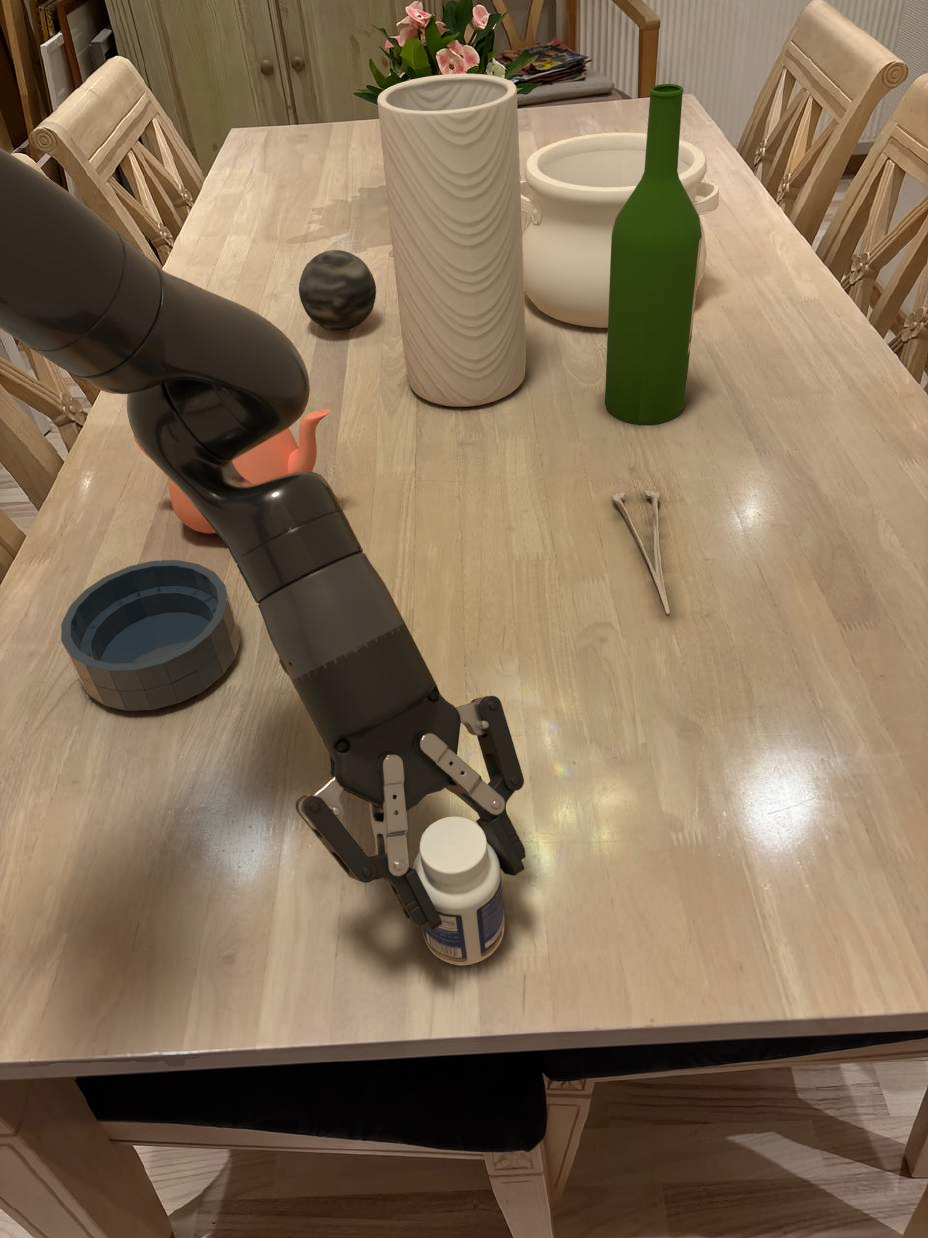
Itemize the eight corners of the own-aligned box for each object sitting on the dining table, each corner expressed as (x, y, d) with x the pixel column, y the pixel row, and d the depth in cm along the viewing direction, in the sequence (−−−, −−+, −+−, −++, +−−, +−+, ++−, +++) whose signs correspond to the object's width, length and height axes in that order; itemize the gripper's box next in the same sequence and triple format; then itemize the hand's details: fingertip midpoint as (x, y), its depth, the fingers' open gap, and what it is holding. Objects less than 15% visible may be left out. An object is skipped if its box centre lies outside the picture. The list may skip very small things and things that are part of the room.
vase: (521, 412, 111) (513, 110, 89) (398, 411, 112) (361, 115, 91) (530, 352, 121) (524, 69, 100) (417, 352, 123) (388, 74, 102)
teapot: (335, 550, 94) (314, 443, 86) (138, 548, 96) (99, 443, 88) (359, 472, 104) (342, 369, 95) (179, 472, 106) (148, 371, 98)
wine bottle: (697, 416, 107) (734, 93, 86) (621, 431, 106) (638, 107, 84) (665, 379, 114) (692, 69, 92) (593, 392, 113) (602, 82, 91)
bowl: (115, 743, 77) (93, 696, 74) (62, 650, 86) (39, 604, 82) (268, 667, 83) (254, 619, 79) (203, 586, 91) (188, 540, 87)
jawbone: (610, 500, 97) (611, 484, 96) (657, 497, 97) (659, 481, 96) (639, 627, 85) (641, 611, 83) (693, 623, 85) (696, 607, 83)
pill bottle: (488, 883, 66) (481, 795, 59) (516, 952, 62) (512, 866, 55) (412, 908, 65) (396, 821, 58) (436, 979, 61) (421, 895, 54)
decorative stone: (383, 339, 126) (373, 263, 119) (306, 348, 126) (292, 273, 119) (377, 306, 134) (368, 233, 127) (305, 315, 133) (291, 242, 126)
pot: (497, 332, 125) (491, 193, 114) (530, 256, 143) (528, 128, 131) (703, 342, 120) (719, 196, 108) (712, 261, 137) (727, 128, 125)
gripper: (246, 697, 51) (392, 979, 52) (467, 585, 57) (596, 840, 57) (227, 707, 58) (355, 955, 59) (426, 605, 64) (541, 833, 64)
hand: (474, 897), depth 58 cm, fingers closed on pill bottle, 5 cm apart
